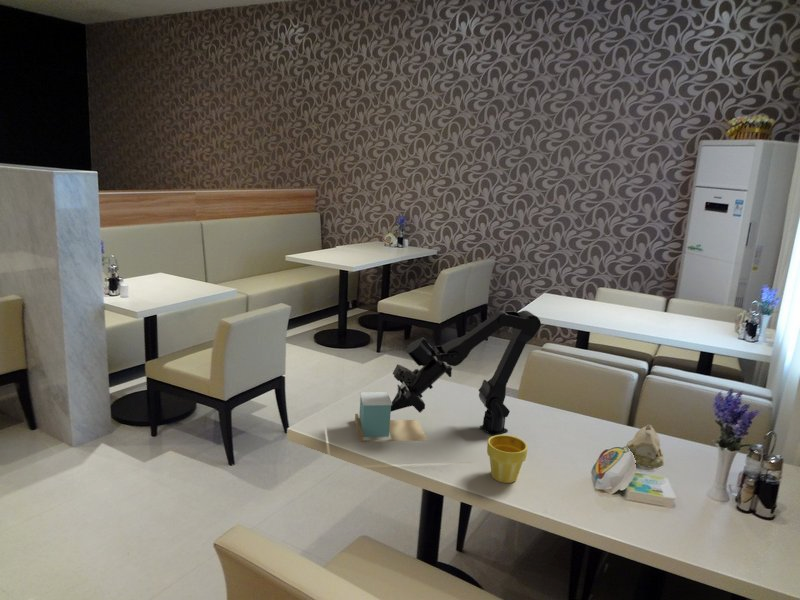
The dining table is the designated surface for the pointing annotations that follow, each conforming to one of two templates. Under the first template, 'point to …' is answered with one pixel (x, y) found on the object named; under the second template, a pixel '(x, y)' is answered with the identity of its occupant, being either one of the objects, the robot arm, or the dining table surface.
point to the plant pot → (506, 457)
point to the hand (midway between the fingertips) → (389, 410)
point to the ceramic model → (646, 447)
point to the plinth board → (395, 431)
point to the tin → (375, 413)
